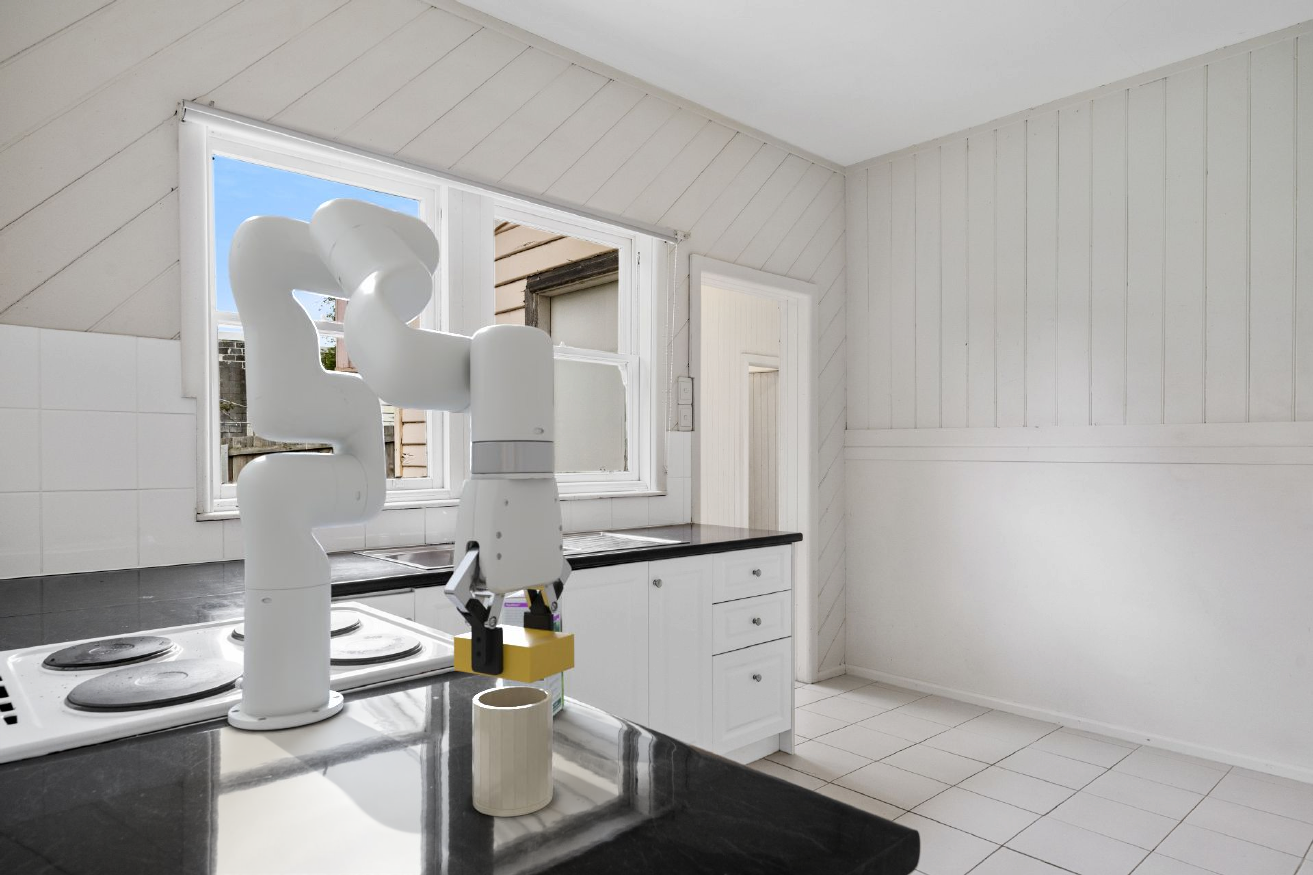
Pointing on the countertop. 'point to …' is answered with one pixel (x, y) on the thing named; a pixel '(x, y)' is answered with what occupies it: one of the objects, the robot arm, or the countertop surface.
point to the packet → (523, 653)
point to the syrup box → (514, 617)
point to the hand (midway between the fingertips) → (514, 662)
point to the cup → (512, 750)
